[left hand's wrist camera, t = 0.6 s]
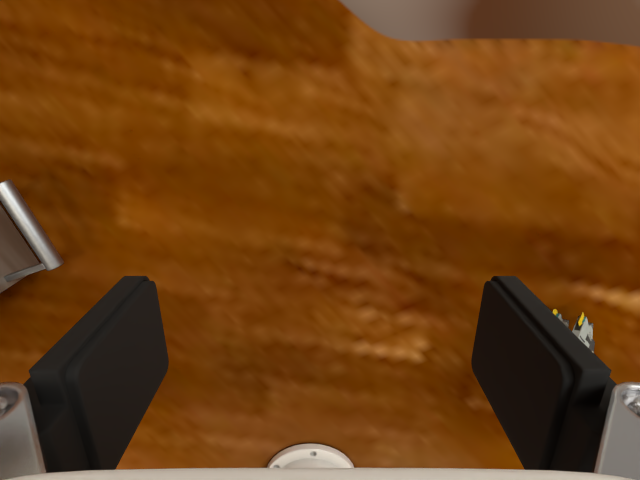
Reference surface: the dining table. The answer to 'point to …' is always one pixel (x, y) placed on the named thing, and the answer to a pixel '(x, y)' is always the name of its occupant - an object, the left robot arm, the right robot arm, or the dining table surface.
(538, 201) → the dining table surface
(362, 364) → the dining table surface
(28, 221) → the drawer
